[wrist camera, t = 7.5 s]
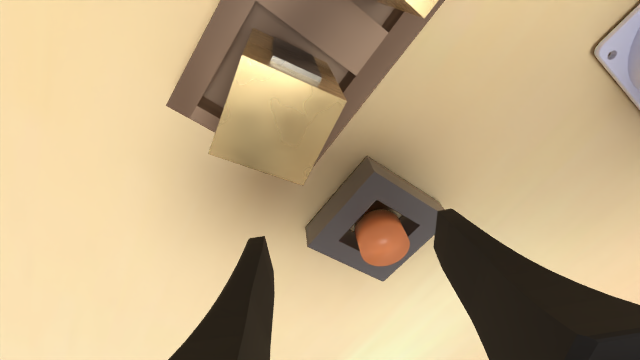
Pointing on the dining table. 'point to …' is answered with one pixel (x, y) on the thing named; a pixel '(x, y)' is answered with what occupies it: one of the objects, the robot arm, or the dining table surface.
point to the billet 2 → (412, 6)
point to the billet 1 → (278, 109)
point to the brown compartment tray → (306, 34)
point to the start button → (381, 238)
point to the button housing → (355, 199)
